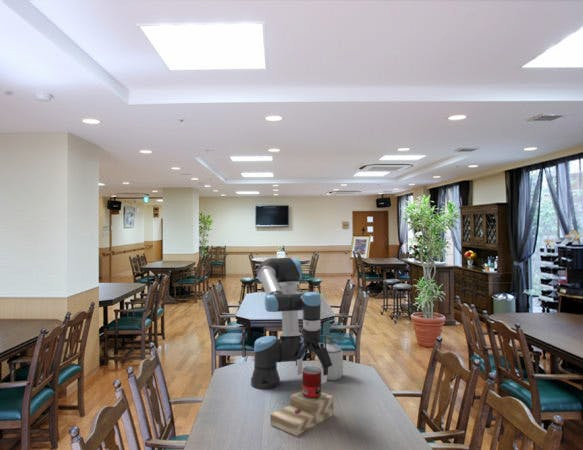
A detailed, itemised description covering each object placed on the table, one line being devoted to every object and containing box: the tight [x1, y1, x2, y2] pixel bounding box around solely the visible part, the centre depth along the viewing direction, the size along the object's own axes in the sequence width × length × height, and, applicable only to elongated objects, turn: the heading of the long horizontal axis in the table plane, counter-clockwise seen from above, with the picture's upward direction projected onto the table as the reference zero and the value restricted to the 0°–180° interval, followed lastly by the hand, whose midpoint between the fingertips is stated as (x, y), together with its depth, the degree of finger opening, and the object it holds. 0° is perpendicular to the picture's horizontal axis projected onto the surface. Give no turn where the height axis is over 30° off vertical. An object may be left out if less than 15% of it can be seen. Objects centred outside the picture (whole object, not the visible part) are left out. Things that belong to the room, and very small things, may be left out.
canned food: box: [302, 366, 322, 399], centre depth 173 cm, size 8×8×11 cm
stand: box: [269, 389, 334, 437], centre depth 168 cm, size 24×14×8 cm, turn 138°
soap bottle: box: [319, 319, 344, 381], centre depth 217 cm, size 12×12×31 cm
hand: (311, 378), depth 173 cm, fingers open, 13 cm apart
